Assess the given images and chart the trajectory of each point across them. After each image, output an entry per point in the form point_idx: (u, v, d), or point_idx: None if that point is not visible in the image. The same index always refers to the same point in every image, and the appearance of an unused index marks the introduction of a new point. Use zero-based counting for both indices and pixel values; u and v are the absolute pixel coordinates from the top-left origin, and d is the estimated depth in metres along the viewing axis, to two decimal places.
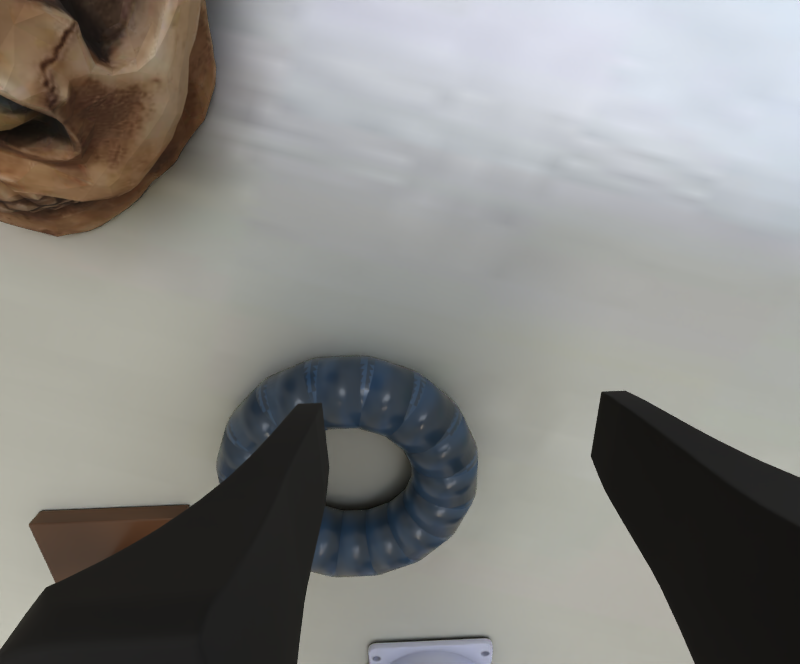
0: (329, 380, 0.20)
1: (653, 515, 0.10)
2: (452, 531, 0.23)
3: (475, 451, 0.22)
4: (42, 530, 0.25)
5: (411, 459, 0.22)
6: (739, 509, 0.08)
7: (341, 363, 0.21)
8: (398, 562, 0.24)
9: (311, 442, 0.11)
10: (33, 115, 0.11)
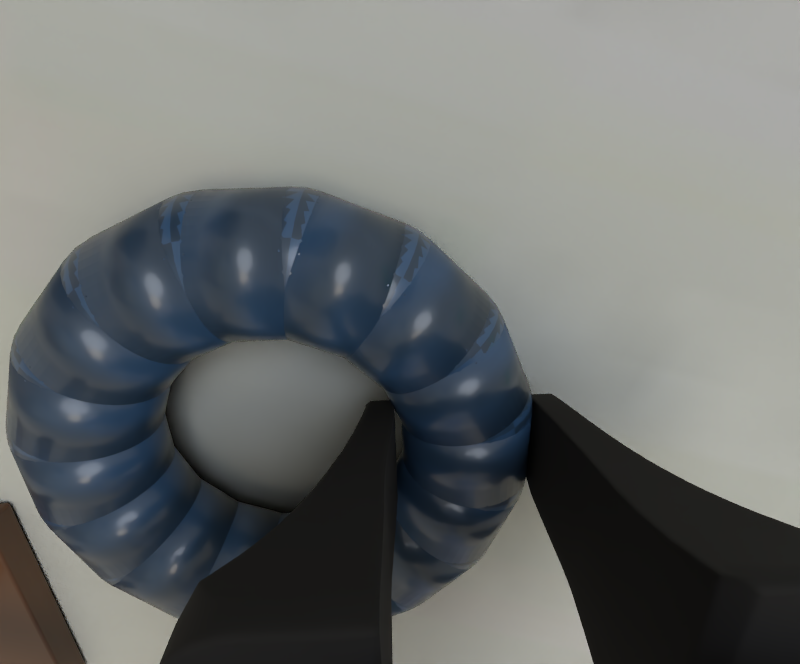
0: (212, 218, 0.09)
1: (565, 519, 0.10)
2: (480, 553, 0.12)
3: (529, 394, 0.11)
4: None
5: (400, 408, 0.11)
6: (622, 515, 0.08)
7: (246, 191, 0.09)
8: None
9: (393, 439, 0.11)
10: None
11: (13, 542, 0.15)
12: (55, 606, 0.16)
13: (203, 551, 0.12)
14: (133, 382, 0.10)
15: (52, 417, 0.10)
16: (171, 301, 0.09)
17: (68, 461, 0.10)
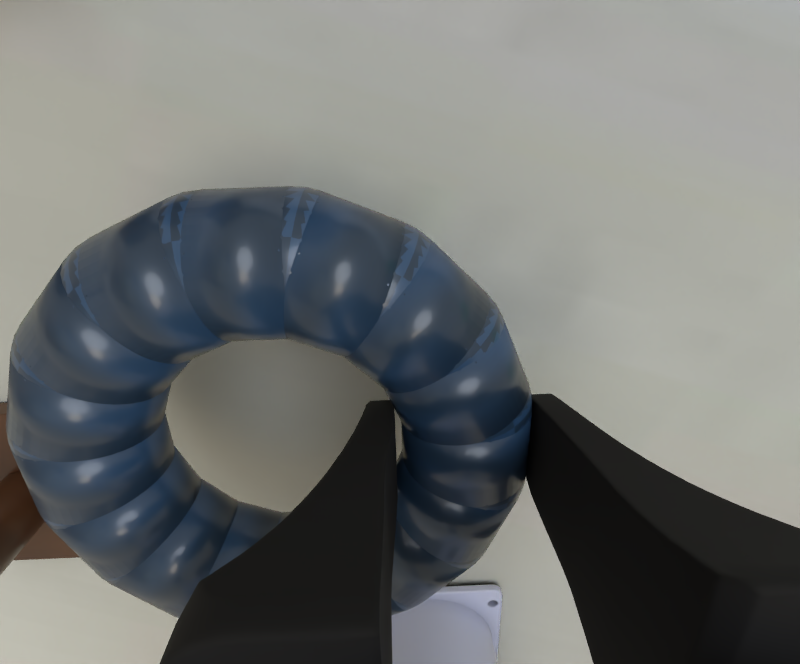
0: (212, 218, 0.09)
1: (565, 519, 0.10)
2: (480, 552, 0.12)
3: (529, 394, 0.11)
4: None
5: (400, 408, 0.11)
6: (622, 514, 0.08)
7: (246, 191, 0.09)
8: None
9: (393, 439, 0.11)
10: None
11: None
12: None
13: (203, 551, 0.12)
14: (133, 381, 0.10)
15: (52, 416, 0.10)
16: (171, 300, 0.09)
17: (68, 460, 0.10)
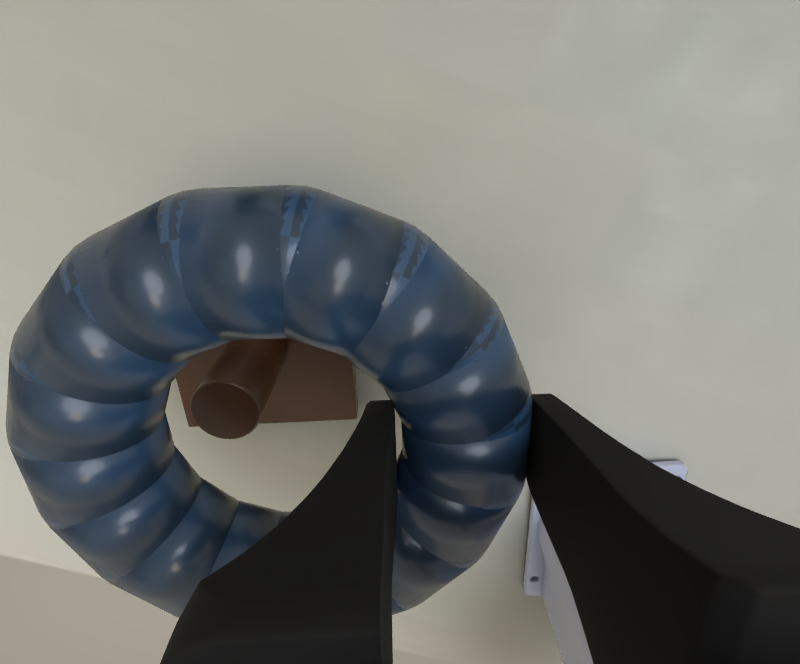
0: (211, 217, 0.09)
1: (564, 519, 0.10)
2: (481, 551, 0.12)
3: (529, 392, 0.11)
4: None
5: (400, 407, 0.11)
6: (621, 514, 0.08)
7: (244, 190, 0.09)
8: None
9: (393, 439, 0.11)
10: None
11: None
12: None
13: (204, 550, 0.12)
14: (132, 381, 0.10)
15: (52, 416, 0.10)
16: (169, 300, 0.09)
17: (68, 460, 0.10)
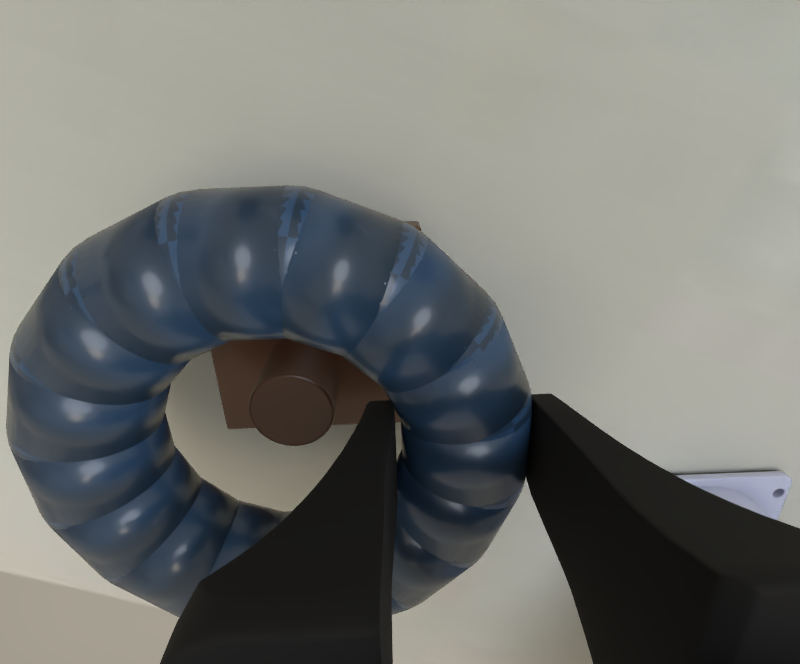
0: (208, 218, 0.09)
1: (564, 519, 0.10)
2: (481, 551, 0.12)
3: (528, 392, 0.11)
4: None
5: (399, 407, 0.11)
6: (622, 514, 0.08)
7: (242, 190, 0.09)
8: None
9: (393, 439, 0.11)
10: None
11: None
12: None
13: (204, 550, 0.12)
14: (132, 382, 0.10)
15: (51, 417, 0.10)
16: (168, 301, 0.09)
17: (68, 461, 0.10)
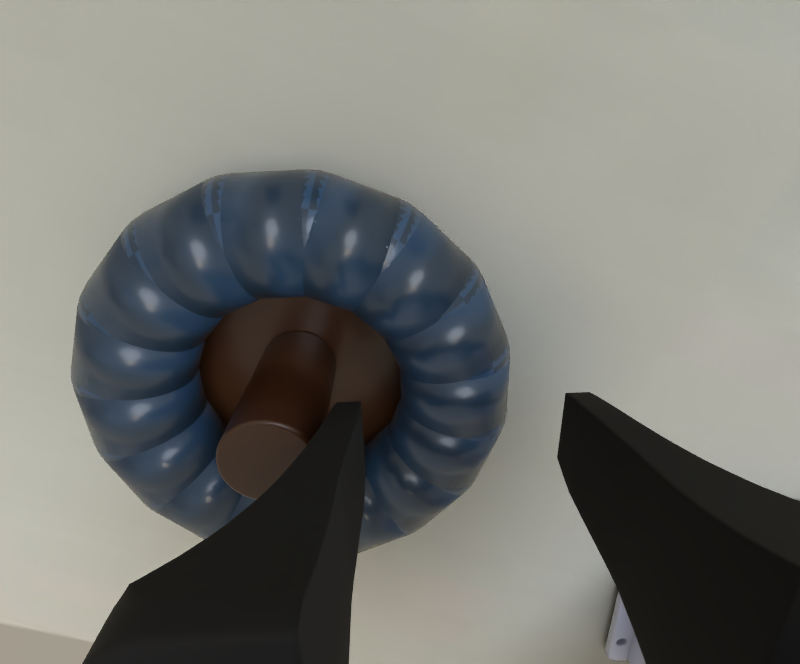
0: (245, 194, 0.11)
1: (610, 517, 0.10)
2: (468, 481, 0.14)
3: (506, 342, 0.13)
4: None
5: (399, 354, 0.13)
6: (682, 511, 0.08)
7: (270, 173, 0.12)
8: (382, 533, 0.15)
9: (355, 440, 0.11)
10: None
11: None
12: None
13: None
14: (179, 332, 0.12)
15: (113, 361, 0.12)
16: (212, 262, 0.11)
17: (125, 399, 0.13)
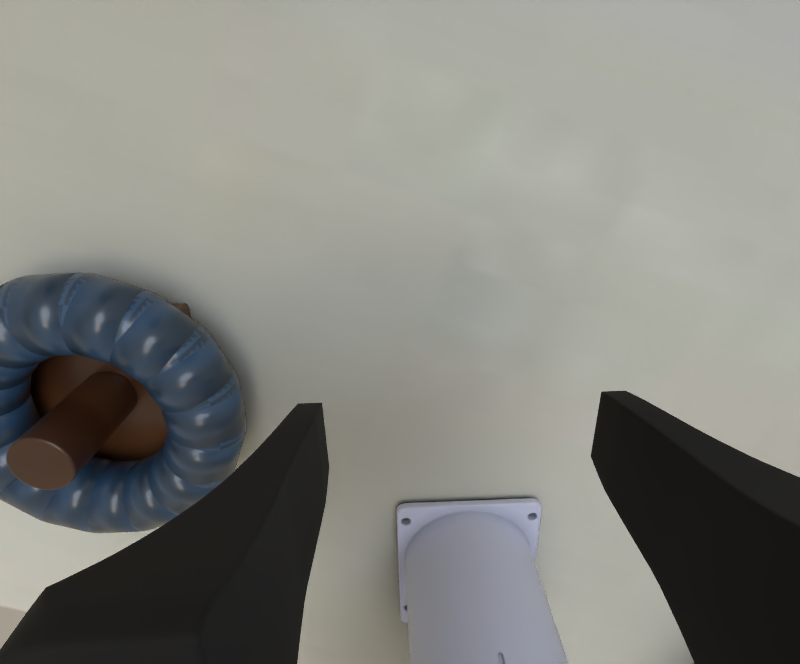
0: (24, 294, 0.17)
1: (653, 515, 0.10)
2: (214, 478, 0.21)
3: (226, 384, 0.20)
4: None
5: (148, 392, 0.19)
6: (739, 509, 0.08)
7: (48, 278, 0.18)
8: (157, 514, 0.21)
9: (311, 442, 0.11)
10: None
11: None
12: None
13: None
14: None
15: None
16: (4, 336, 0.18)
17: None
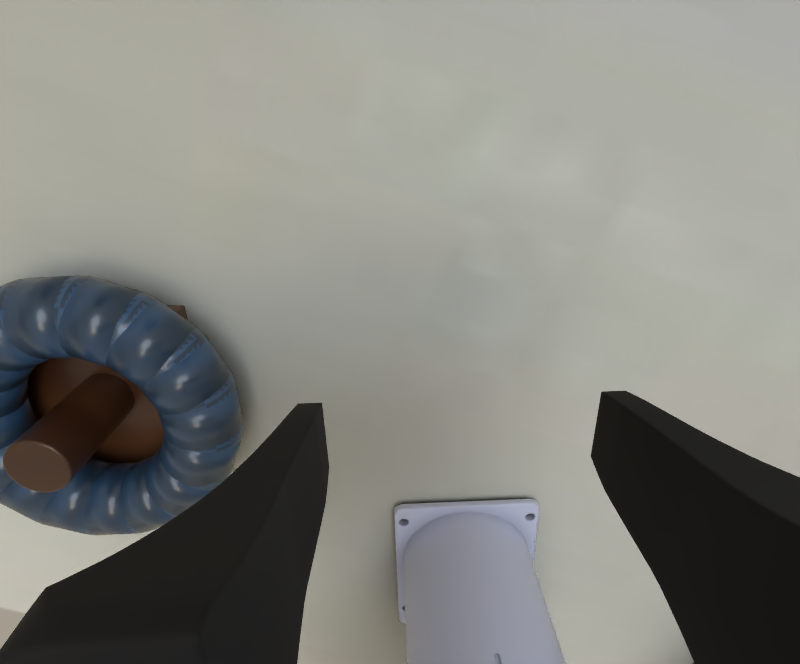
0: (20, 298, 0.17)
1: (653, 515, 0.10)
2: (211, 480, 0.21)
3: (223, 386, 0.20)
4: None
5: (145, 394, 0.19)
6: (739, 510, 0.08)
7: (44, 281, 0.18)
8: (155, 516, 0.21)
9: (311, 442, 0.11)
10: None
11: None
12: None
13: None
14: None
15: None
16: (1, 339, 0.18)
17: None
